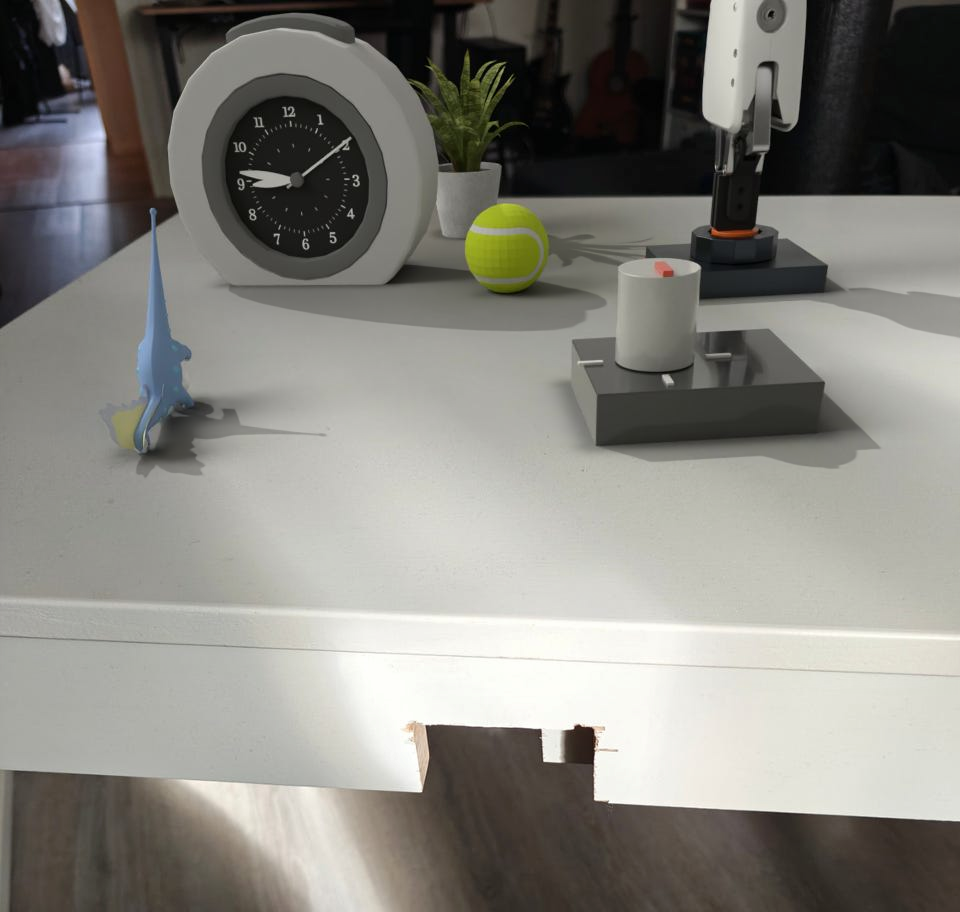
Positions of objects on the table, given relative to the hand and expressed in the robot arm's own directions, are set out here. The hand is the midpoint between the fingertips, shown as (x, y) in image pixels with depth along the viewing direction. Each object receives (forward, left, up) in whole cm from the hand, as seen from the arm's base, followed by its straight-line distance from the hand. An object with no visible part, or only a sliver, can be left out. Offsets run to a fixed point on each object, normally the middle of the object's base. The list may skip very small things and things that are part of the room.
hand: (732, 227), depth 80 cm
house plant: (+20, -26, -4) cm, 33 cm away
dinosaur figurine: (+40, +26, -4) cm, 48 cm away
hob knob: (+12, +28, -1) cm, 30 cm away
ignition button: (0, 0, -2) cm, 2 cm away
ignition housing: (0, 0, -4) cm, 4 cm away
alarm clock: (+34, -10, -4) cm, 36 cm away
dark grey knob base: (+10, +28, -4) cm, 30 cm away
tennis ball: (+18, -1, -4) cm, 18 cm away
